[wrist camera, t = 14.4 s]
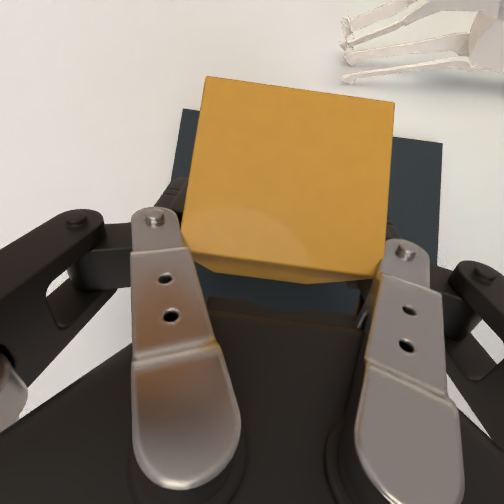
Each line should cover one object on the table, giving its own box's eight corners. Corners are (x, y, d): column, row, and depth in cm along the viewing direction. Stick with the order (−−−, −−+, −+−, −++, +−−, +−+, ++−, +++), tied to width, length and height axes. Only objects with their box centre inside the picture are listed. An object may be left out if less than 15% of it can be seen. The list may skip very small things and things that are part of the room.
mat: (438, 146, 18) (443, 142, 18) (427, 378, 16) (432, 381, 16) (184, 112, 18) (182, 108, 18) (145, 343, 16) (142, 344, 16)
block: (316, 199, 17) (395, 101, 8) (307, 284, 16) (383, 278, 8) (224, 186, 17) (205, 74, 8) (212, 271, 16) (176, 251, 7)
